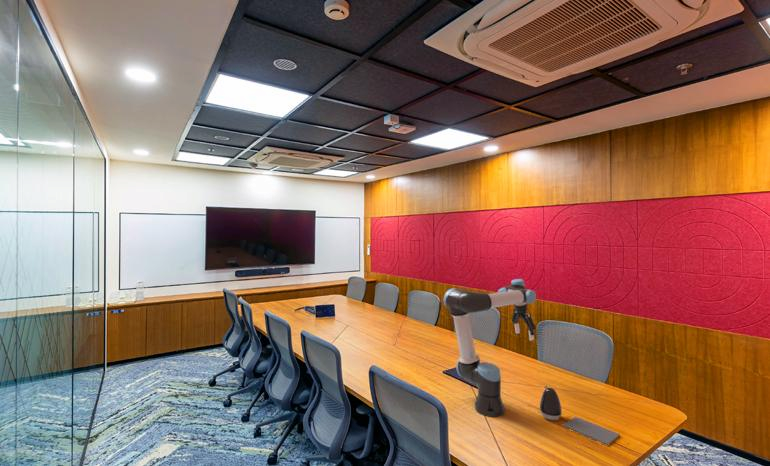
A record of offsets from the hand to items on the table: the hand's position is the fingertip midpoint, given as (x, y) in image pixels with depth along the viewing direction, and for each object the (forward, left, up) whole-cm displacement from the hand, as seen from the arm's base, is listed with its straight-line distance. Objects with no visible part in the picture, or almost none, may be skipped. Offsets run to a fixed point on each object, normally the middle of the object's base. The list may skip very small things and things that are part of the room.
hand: (524, 336), depth 223 cm
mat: (-25, -50, -29) cm, 63 cm away
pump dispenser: (-28, -32, -30) cm, 52 cm away
